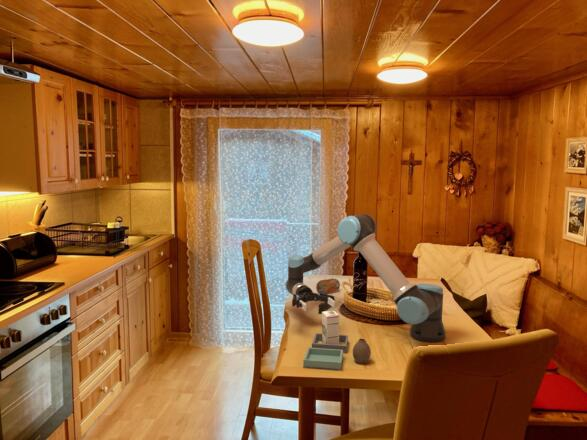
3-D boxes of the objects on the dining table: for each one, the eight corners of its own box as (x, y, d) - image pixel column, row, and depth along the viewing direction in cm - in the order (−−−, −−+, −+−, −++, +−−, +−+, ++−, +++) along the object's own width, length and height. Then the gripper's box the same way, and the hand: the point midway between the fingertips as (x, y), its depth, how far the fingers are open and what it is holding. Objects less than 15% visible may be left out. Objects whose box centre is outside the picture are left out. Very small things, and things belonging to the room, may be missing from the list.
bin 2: (343, 357, 189) (343, 349, 189) (340, 370, 177) (340, 362, 177) (307, 354, 192) (307, 347, 191) (303, 367, 180) (303, 359, 179)
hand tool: (328, 303, 259) (328, 295, 258) (335, 304, 257) (335, 296, 256) (313, 314, 242) (313, 305, 241) (321, 315, 240) (320, 306, 239)
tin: (318, 295, 273) (318, 281, 272) (315, 294, 275) (315, 280, 274) (340, 292, 280) (340, 278, 279) (337, 290, 283) (337, 276, 282)
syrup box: (339, 348, 198) (340, 314, 196) (326, 349, 196) (326, 315, 194) (334, 343, 203) (334, 309, 202) (321, 344, 202) (321, 311, 200)
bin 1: (348, 342, 205) (348, 335, 204) (346, 353, 193) (346, 346, 192) (315, 339, 207) (315, 333, 207) (311, 350, 195) (311, 343, 195)
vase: (354, 356, 190) (354, 335, 188) (371, 358, 188) (372, 337, 186) (351, 363, 183) (351, 341, 182) (369, 366, 181) (369, 343, 180)
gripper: (326, 297, 232) (346, 311, 212) (277, 302, 223) (293, 317, 204) (326, 282, 231) (346, 295, 211) (277, 287, 222) (293, 300, 203)
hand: (320, 306), depth 207 cm, fingers open, 13 cm apart
